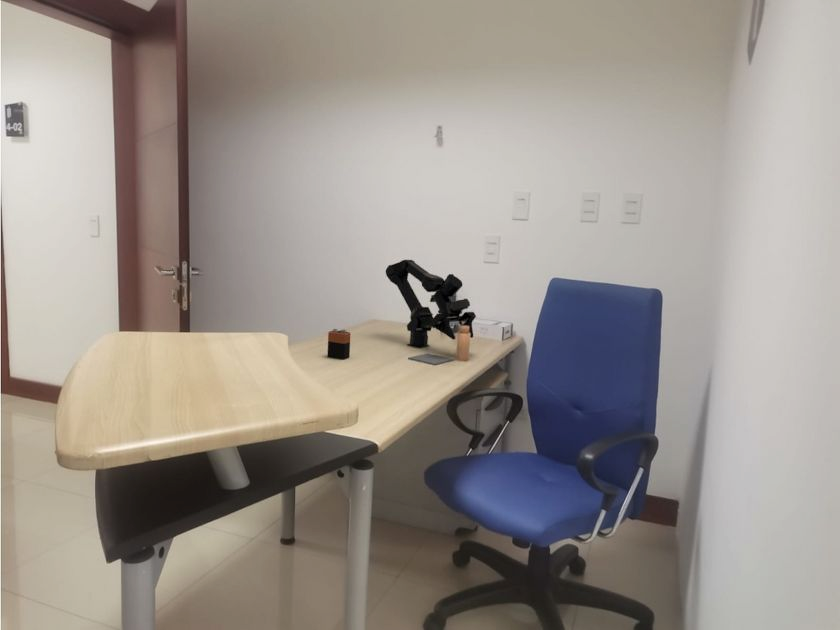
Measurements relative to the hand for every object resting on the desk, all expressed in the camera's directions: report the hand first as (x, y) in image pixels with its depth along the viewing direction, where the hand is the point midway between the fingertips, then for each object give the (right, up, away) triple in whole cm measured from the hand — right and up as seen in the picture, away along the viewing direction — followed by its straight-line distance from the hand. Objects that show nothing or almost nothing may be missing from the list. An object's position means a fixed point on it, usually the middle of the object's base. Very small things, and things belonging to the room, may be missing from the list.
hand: (463, 338), depth 210 cm
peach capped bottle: (0, -8, +1) cm, 8 cm away
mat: (-12, -8, -3) cm, 15 cm away
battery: (-45, -7, -8) cm, 46 cm away
